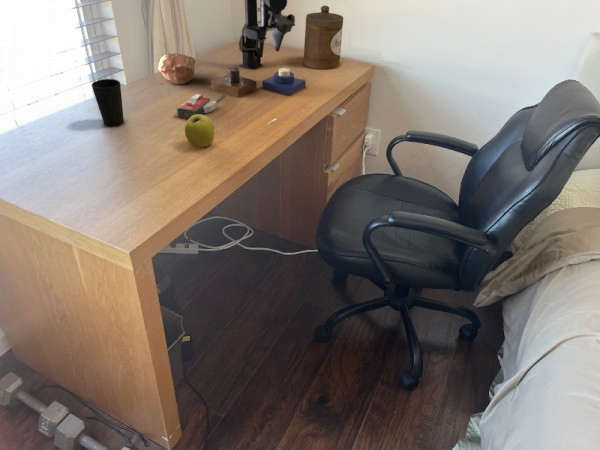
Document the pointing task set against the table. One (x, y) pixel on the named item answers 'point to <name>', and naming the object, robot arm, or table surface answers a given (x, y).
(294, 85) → the button housing
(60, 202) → the table surface
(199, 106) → the walkie-talkie
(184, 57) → the decorative rock
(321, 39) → the wooden container
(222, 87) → the dial panel
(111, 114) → the cup
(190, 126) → the apple
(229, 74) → the dial
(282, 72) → the cap
